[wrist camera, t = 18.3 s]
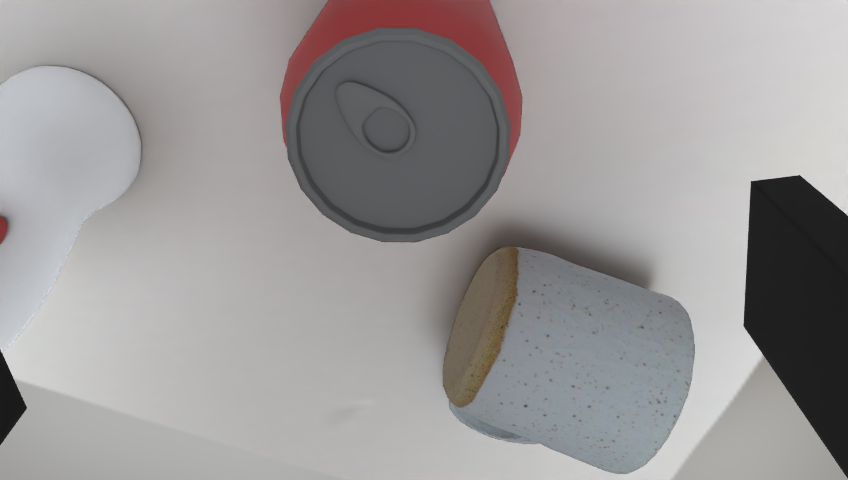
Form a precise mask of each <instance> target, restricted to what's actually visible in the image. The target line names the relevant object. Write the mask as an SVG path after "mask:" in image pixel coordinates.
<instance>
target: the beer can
mask: <svg viewBox="0 0 848 480" xmlns="http://www.w3.org/2000/svg"><path fill="white" fill-rule="evenodd" d="M280 103H281V116H282V128H283V138H284V142H285V144H286V147H287V153H288V160H289V162H290V164H291V167H292V169H293V171H294V174H295V176H296V179H297V181H298V183H299V186H300V188H301V190H302V191H303V192H304V193H305V194H306V196H307V197H308V198H309V199H310V200H311V201H312V203H313V204H314V205H315V206H316V207H317V208H318V210H319V211H320V212H321V213H322V214H323V215H324V216H326V217H327V218H329V219H331V220H332V221H334V222H335V223H337V224H338V225H340V226H341V227H343V228H345V229H346V230H348V231H349V232H351V233H354V234H358V235H361V236H364V237H368V238H371V239H374V240H378V241H381V242H418V241H422V240H425V239H429V238H433V237H436V236H440V235H443V234H447V233H449V232H450V231H452V230H454V229H455V228H457V227H458V226H460V225H461V224H463V223H465V222H466V221H468V220H469V219H471V218H473V217H474V216H476V214H477V213H478V212H479V211H480V210H481V208H482V207H483V206H484V205H485V204H486V203H487V201H488V200H489V199H490V198H491V197H492V195H493V194H494V193H495V192H496V191H497V188H498V186H499V184H500V181H501V179H502V177H503V176H504V174H505V171H506V169H507V166H508V164H509V162H510V159H511V157H512V154H513V152H514V149H515V147H516V144H517V142H518V139H519V136H520V129H521V114H522V94H521V90H520V87H519V83H518V79H517V75H516V72H515V68H514V64H513V61H512V58H511V56H510V53H509V50H508V48H507V45H506V42H505V40H504V37H503V35H502V32H501V29H500V27H499V24H498V21H497V19H496V16H495V14H494V11H493V8H492V6H491V3H490V1H489V0H329V1H328V2H327V4H326V5H325V7H324V8H323V9H322V11H321V12H320V14H319V15H318V17H317V18H316V20H315V21H314V23H313V24H312V26H311V27H310V29H309V30H308V32H307V33H306V35H305V36H304V38H303V39H302V41H301V42H300V44H299V45H298V47H297V48H296V50H295V51H294V53H293V54H292V56H291V58H290V59H289V62H288V66H287V70H286V74H285V78H284V82H283V86H282V90H281V94H280Z"/></svg>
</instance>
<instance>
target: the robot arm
mask: <svg viewBox="0 0 848 480" xmlns="http://www.w3.org/2000/svg"><path fill="white" fill-rule="evenodd" d="M744 327H745V329H746V330H747V332H748V333H749V335H750V336H751V338H752V339H753V340H754V342H755V343H756V345H757V346H758V348H759V349H760V351H761V352H762V354H763V355H764V357H765V358H766V360H767V361H768V362H769V364H770V365H771V367H772V368H773V370H774V371H775V373H776V374H777V376H778V377H779V379H780V380H781V381H782V383H783V384H784V386H785V387H786V389H787V390H788V392H789V393H790V394H791V396H792V398H793V399H794V400H795V402H796V403H797V405H798V406H799V408H800V409H801V411H802V412H803V413H804V415H805V417H806V418H807V419H808V421H809V422H810V424H811V425H812V427H813V428H814V430H815V431H816V433H817V434H818V436H819V437H820V439H821V440H822V441H823V443H824V444H825V446H826V447H827V449H828V450H829V452H830V453H831V455H832V456H833V458H834V459H835V461H836V462H837V463H838V465H839V466H840V468H841V469H842V470H843V472H844V474H845V475H846V476H847V478H848V216H847V215H846V214H845V213H844V212H843V211H841V210H840V209H839V208H838V207H837V206H836V205H834V204H833V203H832V202H831V201H830V200H828V199H827V198H826V197H825V196H824V195H823V194H821V193H820V192H819V191H818V190H817V189H815V188H814V187H813V186H812V185H811V184H809V183H808V182H807V181H806V180H805V179H804V178H802V177H801V176H800V175H798V176H790V177H782V178H774V179H766V180H758V181H751V192H750V212H749V231H748V251H747V271H746V290H745V310H744ZM26 408H27V407H26V405H25V403H24V401H23V398H22V397H21V394H20V392H19V390H18V387H17V385H16V383H15V381H14V379H13V376H12V374H11V372H10V370H9V368H8V365H7V363H6V361H5V359H4V357H3V354H2V352H1V350H0V445H1V443H2V442H3V441H4V439H5V438H6V436H7V435H8V434H9V432H10V431H11V430H12V428H13V427H14V425H15V424H16V422H17V421H18V420H19V418H20V417H21V416H22V414H23V413H24V411H25V410H26Z"/></svg>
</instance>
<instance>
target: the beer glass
mask: <svg viewBox="0 0 848 480" xmlns="http://www.w3.org/2000/svg"><path fill="white" fill-rule="evenodd" d="M140 160H141V141H140V136H139V132H138V129H137V126H136V123H135V121H134V119H133V117H132V115H131V113H130V112H129V110H128V109H127V107H126V106H125V104H124V103H123V102H122V101H121V99H120V98H119V97H118V96H117V95H116V94H115V93H114V92H113V91H112V90H111V89H110V88H108V87H107V86H106V85H104V84H103V83H102V82H100V81H99V80H97V79H95V78H94V77H92V76H90V75H88V74H86V73H83V72H81V71H78V70H75V69H71V68H67V67H61V66H39V67H33V68H29V69H26V70H23V71H21V72H19V73H17V74H15V75H13V76H12V77H10V78H9V79H7V80H6V81H5V82H4V83H2V84H1V85H0V350H1V352H2V353H3V352H4V351H5V350H6V349H7V348H8V347H9V346H10V344H11V343H12V342H13V341H14V340H15V339H16V338H17V337H18V335H19V334H20V333H21V331H22V330H23V329H24V328H25V326H26V325H27V324H28V322H29V321H30V320H31V318H32V317H33V316H34V315H35V313H36V312H37V311H38V309H39V308H40V306H41V305H42V303H43V301H44V300H45V298H46V296H47V294H48V293H49V291H50V289H51V287H52V286H53V284H54V282H55V280H56V279H57V277H58V275H59V273H60V271H61V269H62V266H63V264H64V262H65V260H66V258H67V256H68V254H69V252H70V250H71V247H72V245H73V243H74V241H75V238H76V236H77V234H78V232H79V230H80V228H81V226H82V224H83V222H84V221H85V220H86V218H87V217H88V216H89V215H90V214H92V213H93V212H95V211H97V210H99V209H101V208H103V207H104V206H106V205H108V204H110V203H111V202H113V201H114V200H116V199H117V198H118V197H120V196H121V195H122V194H123V193H124V192H125V191H126V190H127V189H128V188H129V187H130V185H131V184H132V182H133V181H134V179H135V177H136V174H137V172H138V169H139V165H140Z"/></svg>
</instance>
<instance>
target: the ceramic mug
mask: <svg viewBox="0 0 848 480" xmlns="http://www.w3.org/2000/svg"><path fill="white" fill-rule="evenodd" d="M694 354H695V345H694V334H693V330H692V325H691V321H690V318H689V315H688V313H687V312H686V310H685V309H684V308H683V307H682V305H681V304H680V303H679V302H678V301H676V300H674V299H673V298H671V297H669V296H666V295H662V294H659V293H656V292H653V291H650V290H648V289H645V288H642V287H640V286H637V285H634V284H632V283H629V282H626V281H623V280H620V279H617V278H614V277H612V276H609V275H606V274H603V273H600V272H597V271H594V270H591V269H588V268H585V267H582V266H579V265H576V264H574V263H571V262H569V261H566V260H564V259H561V258H559V257H556V256H554V255H551V254H547V253H544V252H541V251H537V250H531V249H525V248H521V247H514V246H507V247H502V248H500V249H498V250H496V251H494V252H493V253H492V254H490V255H489V256H488V257H487V258H486V259H485V260H484V261H483V262H482V264H481V265H480V267H479V269H478V270H477V272H476V274H475V275H474V277H473V279H472V281H471V283H470V285H469V287H468V289H467V291H466V293H465V295H464V298H463V300H462V303H461V305H460V308H459V310H458V313H457V316H456V318H455V321H454V324H453V328H452V331H451V334H450V337H449V341H448V345H447V349H446V354H445V358H444V365H443V387H444V389H445V392H446V394H447V397H448V398H449V407H450V409H451V411H452V412H453V414H454V415H455V416H456V417H457V418H458V419H459V420H460V421H461V422H462V423H464V424H465V425H467V426H468V427H470V428H471V429H474V430H476V431H478V432H480V433H482V434H484V435H487V436H489V437H492V438H495V439H499V440H504V441H508V442H513V443H522V444H537V443H539V444H542V445H544V446H546V447H548V448H550V449H552V450H555V451H558V452H560V453H563V454H565V455H568V456H570V457H573V458H575V459H577V460H580V461H582V462H585V463H587V464H590V465H592V466H595V467H597V468H600V469H602V470H604V471H608V472H612V473H615V474H628V473H630V472H633V471H635V470H637V469H639V468H641V467H643V466H644V465H645V464H647V462H648V461H649V460H650V459H651V458H653V457H654V456H655V454H656V453H657V452H658V450H659V449H660V448H661V447H662V445H663V444H664V443H665V441H666V440H667V439H668V437H669V435H670V432H671V431H672V429H673V427H674V425H675V423H676V421H677V420H678V418H679V416H680V413H681V411H682V408H683V406H684V403H685V401H686V398H687V396H688V392H689V388H690V384H691V380H692V371H693V363H694Z"/></svg>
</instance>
